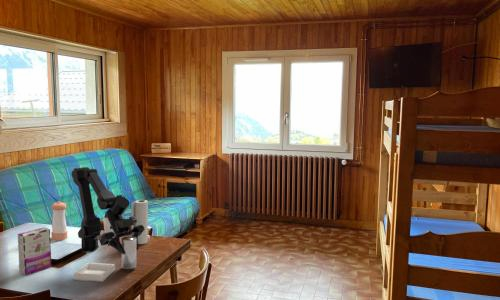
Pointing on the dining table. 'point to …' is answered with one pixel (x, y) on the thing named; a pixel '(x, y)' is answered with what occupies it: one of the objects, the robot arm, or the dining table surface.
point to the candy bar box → (34, 250)
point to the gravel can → (129, 252)
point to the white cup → (107, 225)
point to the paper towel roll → (141, 218)
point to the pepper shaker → (58, 221)
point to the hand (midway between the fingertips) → (130, 252)
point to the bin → (94, 272)
